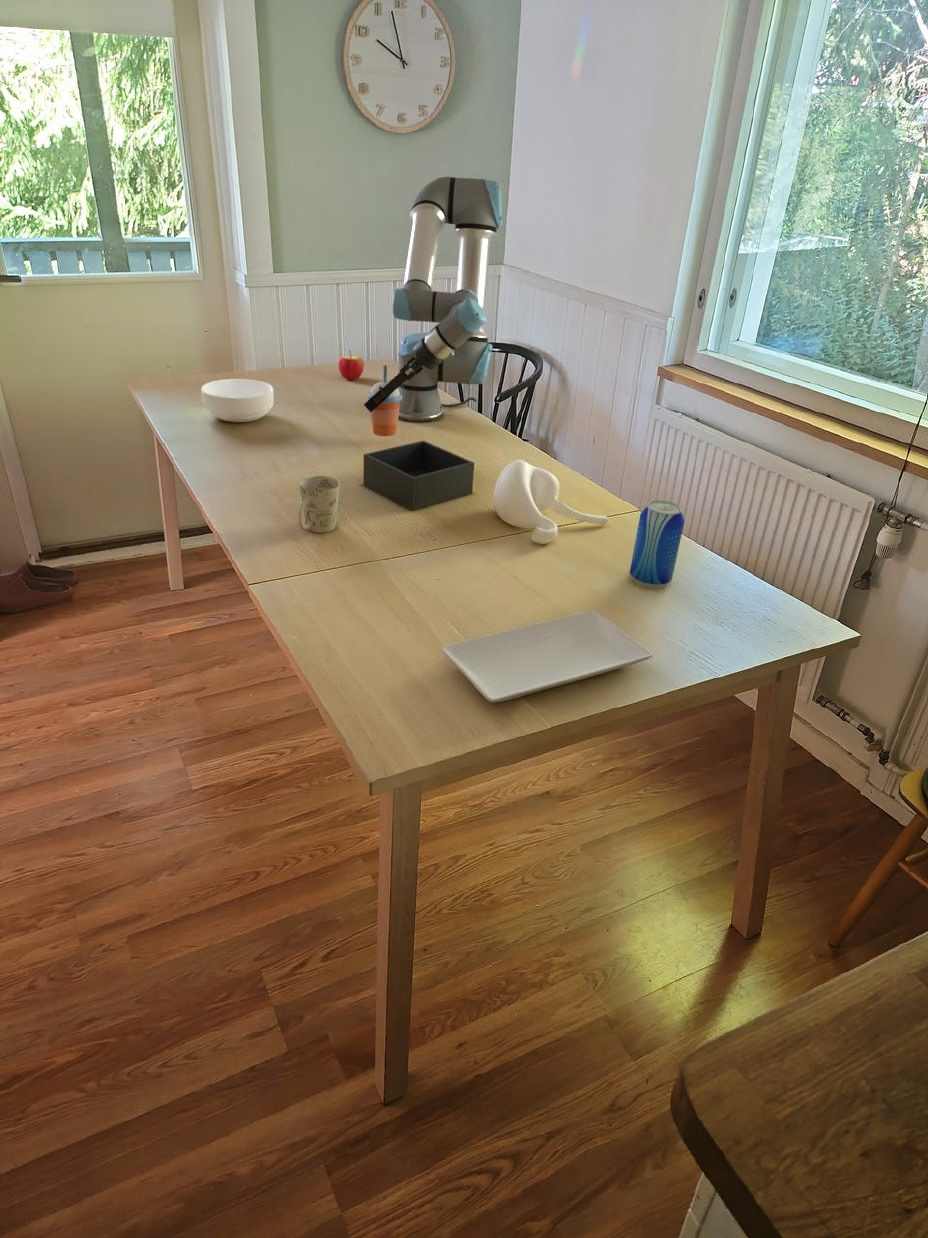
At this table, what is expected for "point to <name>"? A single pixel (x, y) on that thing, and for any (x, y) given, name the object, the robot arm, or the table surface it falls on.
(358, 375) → the apple
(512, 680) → the tray
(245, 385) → the bowl
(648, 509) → the beer can
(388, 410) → the cup with straw
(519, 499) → the stomach
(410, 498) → the bin
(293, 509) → the table surface
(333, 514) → the mug
